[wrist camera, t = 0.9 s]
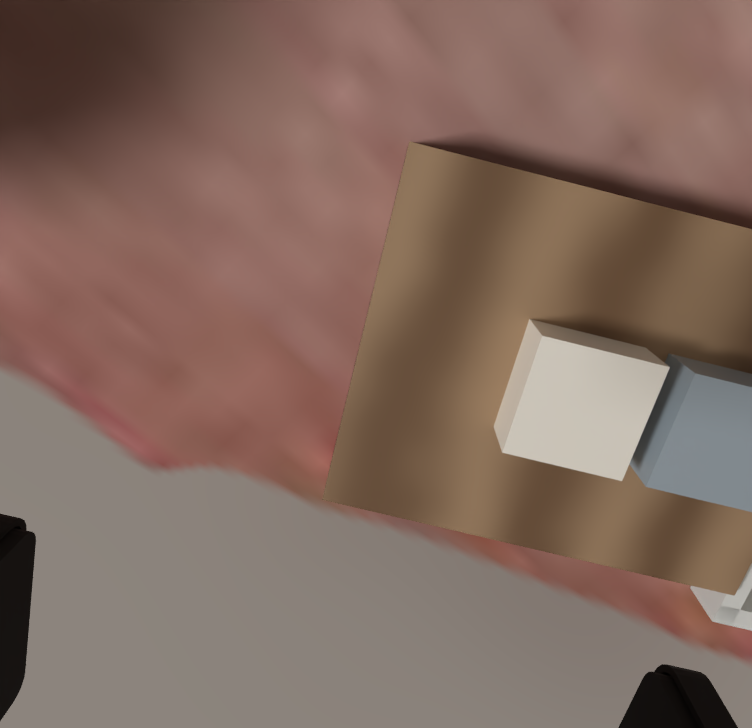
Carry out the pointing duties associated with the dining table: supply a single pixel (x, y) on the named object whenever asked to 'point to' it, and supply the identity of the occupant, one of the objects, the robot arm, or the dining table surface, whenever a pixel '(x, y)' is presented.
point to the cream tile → (578, 400)
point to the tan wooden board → (500, 349)
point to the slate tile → (700, 435)
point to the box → (729, 604)
